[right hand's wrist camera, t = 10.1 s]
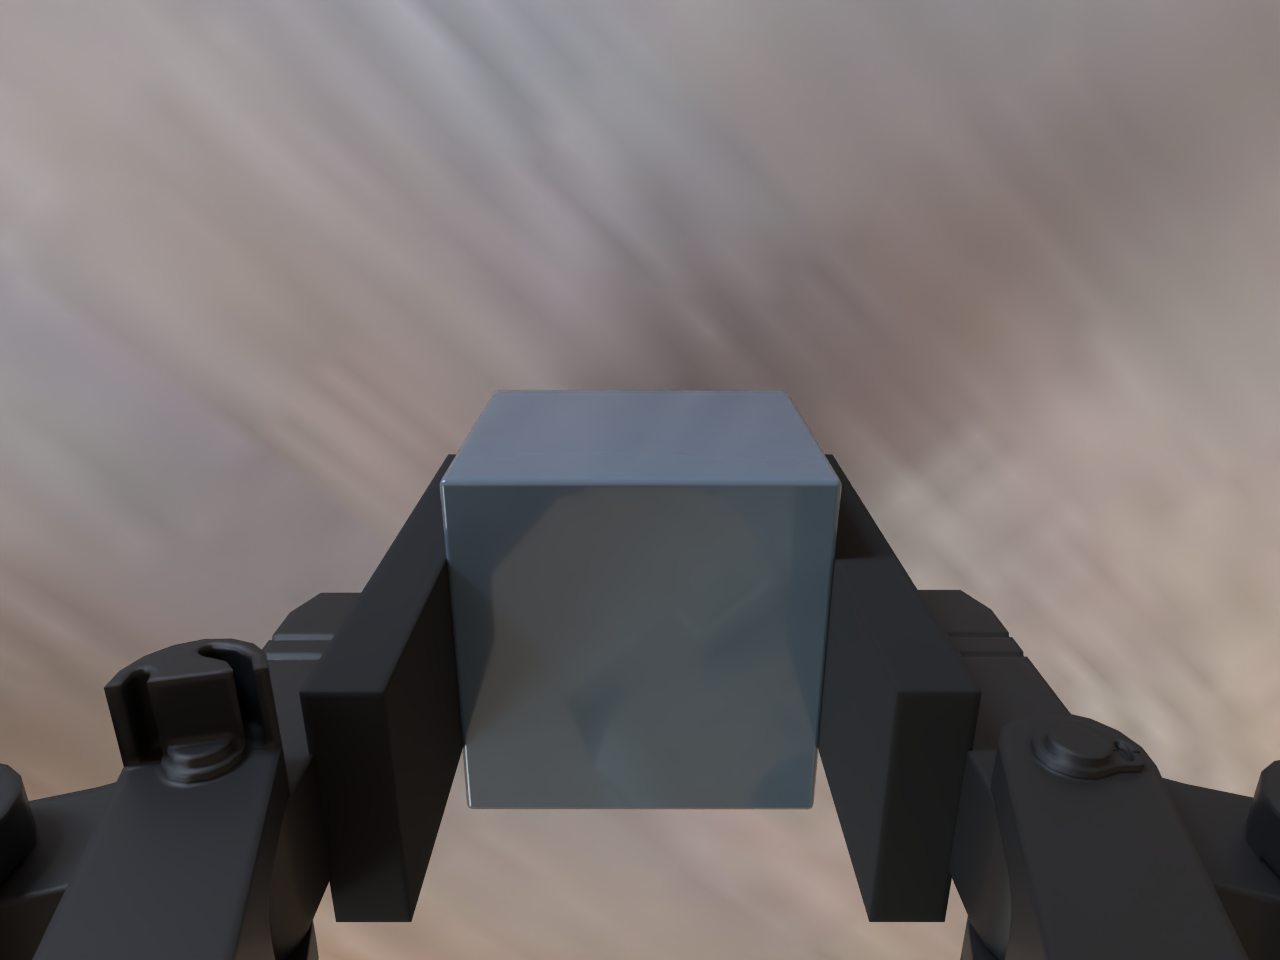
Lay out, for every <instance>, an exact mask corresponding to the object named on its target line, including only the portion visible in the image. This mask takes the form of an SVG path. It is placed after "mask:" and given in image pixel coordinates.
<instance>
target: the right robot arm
mask: <svg viewBox="0 0 1280 960" xmlns="http://www.w3.org/2000/svg"><path fill="white" fill-rule="evenodd" d="M455 456H456V455H448V456H447V458H446V459H445V461H444V462H443V464H442V466H441V467H440V469H439V470H438V472H437V474H436V475H435V477H434V478H433V480H432V482H431V483H430V485H429V486H428V488H427V489H426V491H425V493H424V494H423V496H422V497H421V499H420V501H419V502H418V504H417V505H416V507H415V509H414V510H413V512H412V513H411V515H410V516H409V518H408V520H407V521H406V523H405V524H404V526H403V528H402V529H401V531H400V532H399V534H398V536H397V537H396V539H395V540H394V542H393V543H392V545H391V547H390V548H389V550H388V551H387V553H386V555H385V556H384V558H383V559H382V561H381V563H380V564H379V566H378V567H377V569H376V571H375V572H374V574H373V575H372V577H371V578H370V580H369V582H368V583H367V585H366V586H365V588H364V590H363V591H362V593H320V594H318V595H317V596H315V597H314V598H312V599H311V600H309V601H307V602H306V603H304V604H303V605H301V606H300V607H298V608H297V609H295V610H293V611H292V612H290V613H289V615H288V616H287V617H286V619H285V620H284V621H283V623H282V624H281V625H280V627H279V628H278V629H277V631H276V632H275V633H274V634H273V639H272V640H269V641H268V642H267V644H266V645H265V646H264V648H263V649H262V650H261V649H260V648H259V647H257V646H256V645H255V644H253V643H249V642H244V641H240V640H236V639H203V640H198V641H193V642H188V643H183V644H178V645H173V646H170V647H168V648H165V649H162V650H160V651H157V652H154V653H152V654H149V655H146V656H144V657H142V658H140V659H139V660H137V661H135V662H134V663H132V664H130V665H129V666H127V667H125V668H124V669H122V670H120V671H119V672H118V673H117V674H116V675H115V676H114V678H113V679H112V680H111V681H110V682H109V683H108V684H107V685H106V686H105V687H104V690H105V694H106V698H107V702H108V706H109V710H110V714H111V718H112V722H113V726H114V729H115V733H116V737H117V741H118V745H119V749H120V753H121V757H122V761H123V765H124V768H123V770H122V772H121V774H120V776H119V778H118V780H117V782H115V783H112V784H108V785H104V786H101V787H97V788H92V789H87V790H82V791H77V792H72V793H67V794H63V795H58V796H53V797H48V798H43V799H38V800H33V801H28V798H27V795H26V792H25V788H24V785H23V782H22V778H21V776H20V775H19V774H18V773H17V772H16V771H14V770H13V769H12V768H11V767H9V766H8V765H5V764H0V960H318V958H319V957H318V950H317V942H316V935H315V930H314V924H313V918H314V916H315V913H316V911H317V909H318V906H319V904H320V901H321V899H322V897H323V894H324V892H325V890H326V887H327V885H328V883H329V881H330V887H331V893H332V899H333V905H334V912H335V918H336V922H411V921H412V918H413V914H414V911H415V907H416V904H417V901H418V897H419V894H420V891H421V887H422V884H423V880H424V877H425V874H426V870H427V867H428V864H429V860H430V857H431V853H432V850H433V847H434V843H435V840H436V837H437V833H438V830H439V826H440V823H441V820H442V816H443V813H444V810H445V806H446V803H447V799H448V796H449V793H450V789H451V786H452V783H453V779H454V776H455V772H456V769H457V766H458V762H459V759H460V756H461V752H462V749H463V743H462V731H461V720H460V708H459V697H458V685H457V673H456V662H455V650H454V638H453V627H452V615H451V604H450V592H449V580H448V569H447V558H446V552H445V541H444V529H443V518H442V506H441V494H440V482H441V479H442V478H443V476H444V474H445V473H446V471H447V469H448V468H449V466H450V465H451V463H452V461H453V460H454V458H455ZM825 456H826V458H827V459H828V461H829V463H830V464H831V466H832V468H833V469H834V471H835V473H836V474H837V476H838V478H839V479H840V482H841V484H842V485H841V497H840V508H839V520H838V531H837V543H836V554H835V558H834V569H833V580H832V592H831V603H830V615H829V626H828V638H827V649H826V661H825V672H824V684H823V695H822V707H821V718H820V730H819V741H818V750H819V753H820V757H821V760H822V763H823V767H824V770H825V773H826V777H827V780H828V784H829V787H830V790H831V794H832V797H833V800H834V804H835V807H836V811H837V814H838V817H839V821H840V824H841V827H842V831H843V834H844V838H845V841H846V844H847V848H848V851H849V854H850V858H851V861H852V865H853V868H854V871H855V875H856V878H857V881H858V885H859V888H860V892H861V895H862V898H863V902H864V905H865V908H866V912H867V915H868V919H869V922H945V916H946V910H947V904H948V898H949V891H950V885H951V879H953V881H954V883H955V886H956V888H957V890H958V893H959V895H960V897H961V900H962V902H963V905H964V907H965V909H966V912H967V914H968V918H967V924H966V930H965V935H964V941H963V947H962V953H961V958H960V960H1280V760H1278V761H1274V762H1273V763H1272V764H1270V765H1269V766H1268V767H1267V768H1265V769H1264V770H1263V771H1262V772H1261V775H1260V778H1259V782H1258V785H1257V788H1256V791H1255V795H1254V798H1252V797H1247V796H1242V795H1237V794H1233V793H1228V792H1223V791H1218V790H1213V789H1208V788H1203V787H1198V786H1193V785H1188V784H1184V783H1180V782H1176V781H1173V780H1169V779H1165V778H1162V777H1161V775H1160V772H1159V770H1158V768H1157V766H1156V765H1155V763H1154V762H1153V761H1152V760H1151V758H1150V757H1149V756H1148V754H1147V753H1146V752H1145V751H1144V749H1143V748H1142V747H1141V746H1139V745H1138V744H1137V743H1135V742H1134V741H1132V740H1131V739H1129V738H1128V737H1127V736H1125V735H1124V734H1122V733H1121V732H1119V731H1118V730H1115V729H1113V728H1111V727H1108V726H1106V725H1104V724H1101V723H1099V722H1097V721H1095V720H1092V719H1089V718H1085V717H1081V716H1076V715H1072V714H1070V712H1069V711H1068V710H1067V708H1066V707H1065V706H1064V704H1063V703H1062V702H1061V701H1060V699H1059V698H1058V697H1057V695H1056V694H1055V693H1054V691H1053V690H1052V689H1051V687H1050V686H1049V685H1048V683H1047V682H1046V681H1045V680H1044V678H1043V677H1042V676H1041V674H1040V673H1039V672H1038V670H1037V669H1036V668H1035V666H1034V665H1033V664H1032V663H1031V661H1030V660H1029V659H1028V657H1024V656H1023V651H1022V649H1021V648H1020V647H1019V645H1018V644H1017V643H1016V642H1015V640H1014V639H1013V638H1012V637H1009V632H1008V631H1007V630H1006V628H1005V627H1004V626H1003V625H1002V623H1001V622H1000V621H999V619H998V618H997V617H996V615H995V614H994V613H993V611H992V610H991V609H989V608H988V607H986V606H985V605H983V604H981V603H980V602H978V601H977V600H975V599H974V598H972V597H970V596H969V595H967V594H966V593H964V592H963V591H961V590H917V588H916V587H915V585H914V584H913V582H912V580H911V579H910V577H909V576H908V574H907V572H906V571H905V569H904V568H903V566H902V564H901V563H900V561H899V560H898V558H897V557H896V555H895V553H894V552H893V550H892V549H891V547H890V545H889V544H888V542H887V541H886V539H885V537H884V536H883V534H882V533H881V531H880V530H879V528H878V526H877V525H876V523H875V522H874V520H873V518H872V517H871V515H870V514H869V512H868V510H867V509H866V507H865V506H864V504H863V503H862V501H861V499H860V498H859V496H858V495H857V493H856V491H855V490H854V488H853V487H852V485H851V483H850V482H849V480H848V479H847V477H846V476H845V474H844V472H843V471H842V469H841V468H840V466H839V464H838V463H837V461H836V460H835V458H834V456H833V455H825Z"/></svg>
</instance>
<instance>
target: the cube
mask: <svg viewBox="0 0 1280 960" xmlns="http://www.w3.org/2000/svg"><path fill="white" fill-rule="evenodd" d="M841 485H842V484H841V482H840V479H839V478H838V476H837V474H836V473H835V471H834V469H833V468H832V466H831V464H830V463H829V461H828V459H827V458H826V456H825V454H824V453H823V451H822V450H821V448H820V446H819V445H818V443H817V441H816V440H815V438H814V436H813V435H812V433H811V431H810V430H809V428H808V426H807V425H806V423H805V421H804V420H803V418H802V416H801V415H800V413H799V412H798V410H797V408H796V407H795V405H794V403H793V402H792V400H791V398H790V397H789V395H788V393H787V392H785V391H506V390H498V391H496V392H494V394H493V395H492V397H491V399H490V400H489V402H488V403H487V405H486V407H485V408H484V410H483V412H482V413H481V415H480V417H479V418H478V420H477V422H476V423H475V425H474V427H473V428H472V430H471V432H470V433H469V435H468V436H467V438H466V440H465V441H464V443H463V445H462V446H461V448H460V450H459V451H458V453H457V455H456V456H455V458H454V460H453V461H452V463H451V465H450V466H449V468H448V469H447V471H446V473H445V474H444V476H443V478H442V479H441V482H440V494H441V506H442V518H443V529H444V541H445V552H446V558H447V569H448V580H449V592H450V604H451V615H452V627H453V638H454V650H455V662H456V673H457V685H458V697H459V708H460V720H461V731H462V743H463V749H462V750H463V761H464V773H465V785H466V796H467V804H468V806H469V808H471V809H810V808H812V806H813V804H814V794H815V783H816V771H817V760H818V741H819V730H820V718H821V707H822V695H823V684H824V672H825V661H826V649H827V638H828V626H829V615H830V603H831V592H832V580H833V569H834V558H835V554H836V543H837V531H838V520H839V508H840V497H841Z"/></svg>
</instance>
